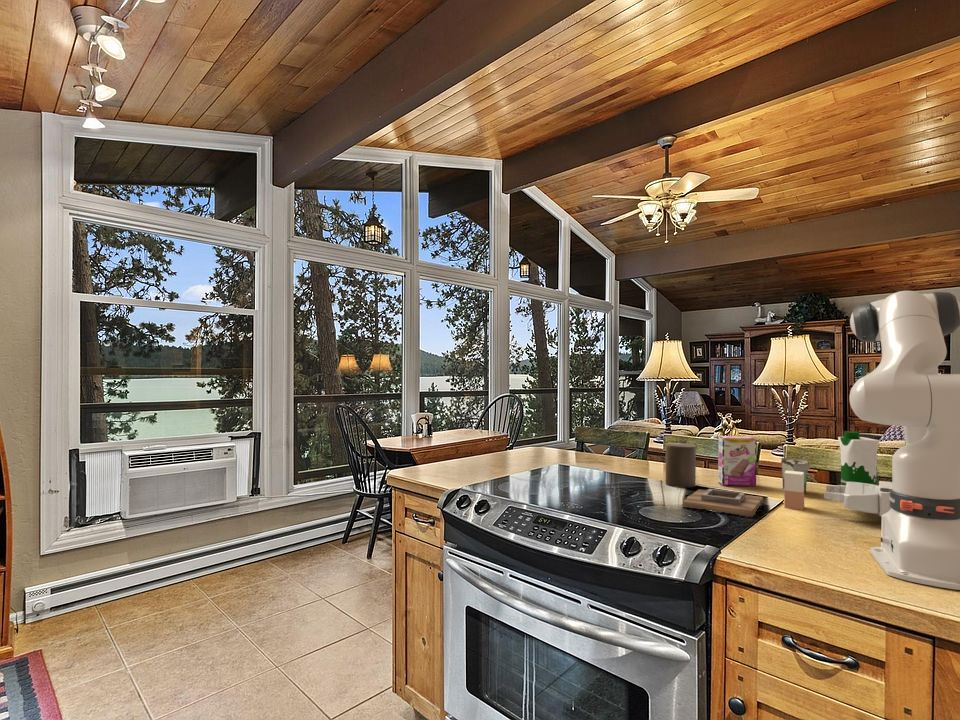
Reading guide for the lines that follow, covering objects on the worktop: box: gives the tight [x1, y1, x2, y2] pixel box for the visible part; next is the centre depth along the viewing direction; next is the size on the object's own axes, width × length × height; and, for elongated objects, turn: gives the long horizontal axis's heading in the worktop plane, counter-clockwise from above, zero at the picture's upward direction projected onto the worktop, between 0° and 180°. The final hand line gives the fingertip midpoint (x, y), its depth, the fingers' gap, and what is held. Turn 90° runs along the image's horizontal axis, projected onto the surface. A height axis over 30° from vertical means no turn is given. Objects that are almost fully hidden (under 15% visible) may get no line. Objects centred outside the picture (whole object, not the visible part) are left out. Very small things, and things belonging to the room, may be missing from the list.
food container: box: [780, 457, 811, 495], centre depth 174 cm, size 12×6×10 cm, turn 168°
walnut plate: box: [682, 488, 764, 516], centre depth 157 cm, size 18×18×4 cm
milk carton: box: [837, 430, 880, 486], centre depth 168 cm, size 9×9×20 cm
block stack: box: [783, 470, 805, 511], centre depth 156 cm, size 4×4×10 cm
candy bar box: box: [717, 435, 757, 487], centre depth 185 cm, size 11×5×16 cm, turn 84°
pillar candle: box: [665, 441, 697, 488], centre depth 186 cm, size 10×10×15 cm
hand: (825, 491), depth 151 cm, fingers open, 8 cm apart
